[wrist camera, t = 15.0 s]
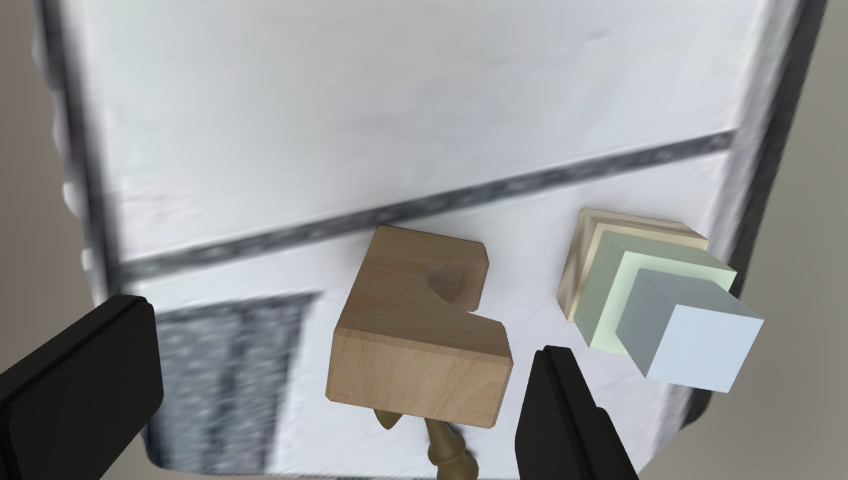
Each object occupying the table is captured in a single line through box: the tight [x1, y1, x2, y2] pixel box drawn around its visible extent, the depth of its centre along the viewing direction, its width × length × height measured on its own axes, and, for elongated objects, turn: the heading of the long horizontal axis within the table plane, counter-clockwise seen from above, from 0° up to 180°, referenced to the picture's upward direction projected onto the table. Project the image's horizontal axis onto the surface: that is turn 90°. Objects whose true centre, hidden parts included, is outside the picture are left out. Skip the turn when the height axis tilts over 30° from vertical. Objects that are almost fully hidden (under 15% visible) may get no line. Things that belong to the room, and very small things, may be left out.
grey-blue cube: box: [615, 268, 764, 393], centre depth 34 cm, size 6×6×6 cm
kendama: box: [374, 409, 479, 480], centre depth 50 cm, size 6×10×20 cm
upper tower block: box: [573, 230, 737, 356], centre depth 39 cm, size 9×9×5 cm
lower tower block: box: [556, 208, 709, 323], centre depth 44 cm, size 10×10×5 cm
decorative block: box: [325, 225, 514, 429], centre depth 37 cm, size 11×6×20 cm, turn 78°
